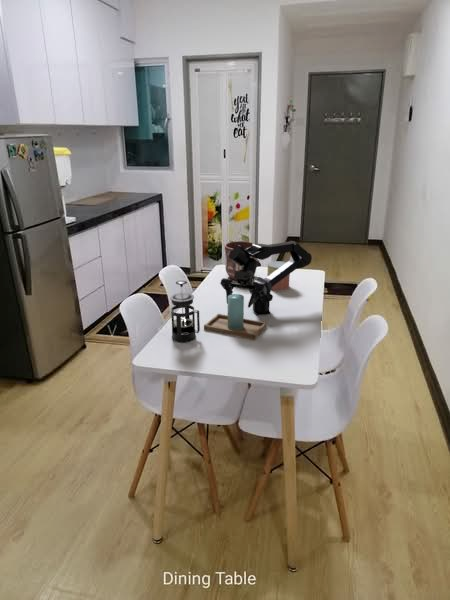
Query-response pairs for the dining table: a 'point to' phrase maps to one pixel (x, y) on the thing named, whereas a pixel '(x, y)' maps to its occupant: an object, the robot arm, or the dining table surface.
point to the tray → (248, 331)
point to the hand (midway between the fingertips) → (237, 305)
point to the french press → (183, 323)
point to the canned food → (284, 282)
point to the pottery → (230, 264)
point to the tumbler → (235, 311)
